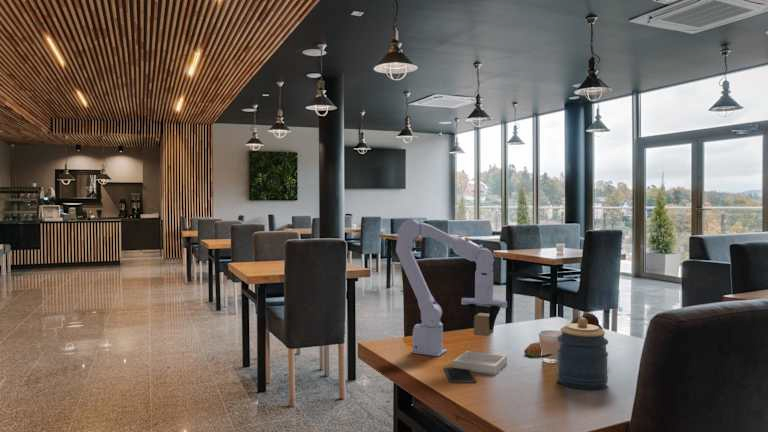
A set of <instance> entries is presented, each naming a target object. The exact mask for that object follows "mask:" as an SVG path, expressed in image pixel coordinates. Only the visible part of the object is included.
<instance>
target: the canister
mask: <svg viewBox="0 0 768 432" xmlns="http://www.w3.org/2000/svg"><path fill="white" fill-rule="evenodd" d="M602 329H603V328H602ZM602 329H600V328H599V327H598V326H595V325H591V324H588V321H587V320H586V319H585V318H579V319H578V322H577V323H571V322H570V323H568V324H566V325H565V326H563V327H561V328H560V332H561V334H559V335H557V336H556V338H557V339H556V340H558V341H559V342H558V343H559V344H558V347H557V350H556V351H557V370H556V376H557V381H558V382H559V383H560V384H562V385H564V386H565V387H568V388H572V389H579V390H587V391H588V390H592V391H593V390H594V391H595V390H602V389H604V388H606V387H607V384H608V381H609V375H608V356H609V352H608V351H607V345H608V344H609V340H608V339H607V338H605V334H606V332H604V331H605V330H604V329H603V330H602ZM603 335H604V336H603Z"/></svg>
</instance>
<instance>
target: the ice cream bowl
mask: <svg viewBox="0 0 768 432" xmlns="http://www.w3.org/2000/svg"><path fill="white" fill-rule="evenodd" d="M579 318H585V319H586V320H587V321H588V324H591V325H595V326H598V327H599V328H600V329H602V330H603V331H604V332H605V330H604V329H603V327H602V326H601V324H600V321H599V317H597V316H596V314H594V313H593V314H592V313H590V312H589V313H584V314H582V315H581V317H580V316H578V317H576V318H574V319H573V320H572V321H571V322H570V324H571V323H577V322H578V319H579ZM605 333H606V332H605ZM603 336H604V337H605V334H604V335H603Z"/></svg>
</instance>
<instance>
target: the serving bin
mask: <svg viewBox="0 0 768 432" xmlns="http://www.w3.org/2000/svg"><path fill="white" fill-rule="evenodd" d="M507 364H508V356H507V355H504V354H495V353H487V352H482V351H471V350H466V351H465V352H463V353H462V354H461V355H459V356H457V357H456V358H455V359H453V360H452V367H453V368H458V369H465V370H470V371H471V373H478V374H485V375H491V376H492V375H493V376H496V375H497V374H498V373H499V372H500V371H501V370H502V369H504V368H505V367H506V366H507Z"/></svg>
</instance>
